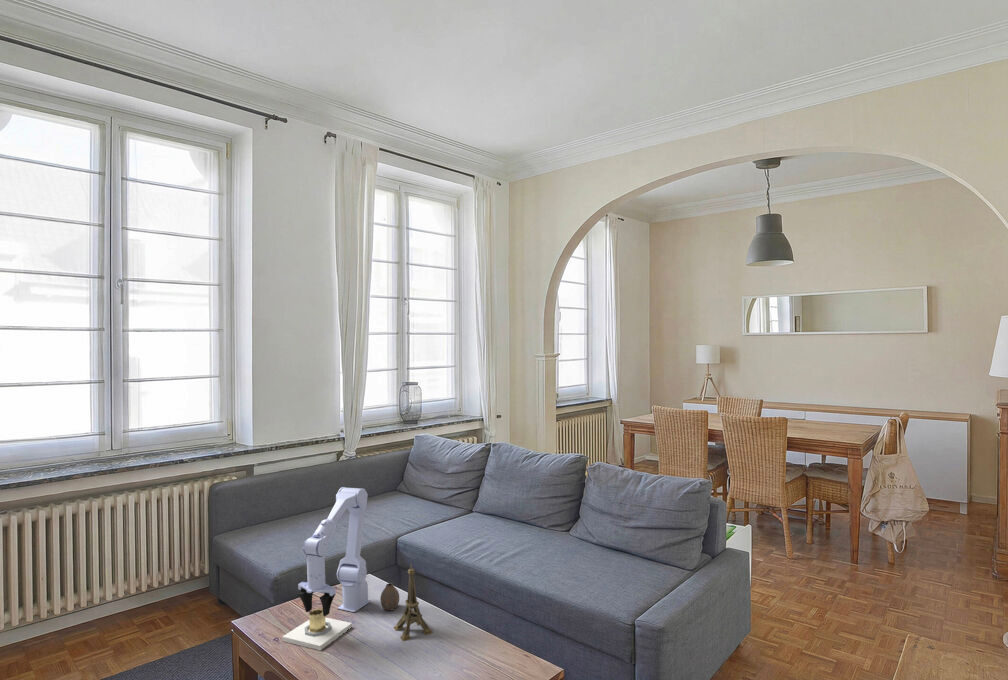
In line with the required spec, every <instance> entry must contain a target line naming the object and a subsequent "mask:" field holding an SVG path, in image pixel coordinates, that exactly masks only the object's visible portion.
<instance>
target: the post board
mask: <svg viewBox="0 0 1008 680" xmlns="http://www.w3.org/2000/svg"><path fill="white" fill-rule="evenodd" d="M325 626H326V629H325V630H324V631H321V632H316V633H312V632H310V620H309V619H308V620H306V621H304V622H303V623H302V624H300V625H298V626H297V627H295V628H293V629H292V630H291V631H289V632H287V633H285V634H284V635H283V636H281V637H282V642H285V643H289V644H293V645H298V646H301V647H305V648H307V649H308V648H309V649H312V650H317V651H321V650H323V649H324V648H326V647H327V646H329V645H330V644H331V643H333V642H334V641H335V640H337V639H339V636H340V637H341V636H343V633H344V634H345V633H346V632H347V630H348V629H349V630H351V629H352V628H353V623H352V622H348V621H344V620H339V619H335V618H330V617H327V616H325ZM351 627H352V628H351ZM350 628H351V629H350ZM349 630H348V631H349ZM332 641H333V642H332Z"/></svg>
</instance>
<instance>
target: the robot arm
mask: <svg viewBox="0 0 1008 680" xmlns="http://www.w3.org/2000/svg"><path fill="white" fill-rule="evenodd" d="M367 504H368V491H366V489H365V488H362V487H361V488H357V487H345V486H342V487H340V488H339V489H338V491H337V493H336V494H335V503H334V505H333V506H332V508H331V511H330V513H329V515H328V516H327V518H326V519H323V520H321V522H320V523H319V525H318V526H317V528H316V529H315V531H314V532H313V534H312V536H311V537H309V538H307V539H305V540H304V542H303V547H302V553H303V554H304V559H305V560H306V575H307V576H306V577H307V578H306V579H307V581H306V582H305V581H301V582H300V583H298V584H297V589H298V590H299V592H298V593H297V595H298V596H299V598H300V600H301V601H302V604H303V607H304V609H305V613H308V612H311V611H312V610H313V594H314V593H319V594H323V595H321V596H319V600H320V602H321V607H322V608H321V609H323V616H325V617H327V616H328V615H329V614H330V610H331V605H332V603H333V600H334V598H335V596H336V587H332V586H331V585H329V584H327V583H326V568H325V567H326V565H325V564H326V562H325V554H326V553H327V551H328V548H329V544H330V539H331V538H332V536H333V535H334V533H335V531H336V530H337V526H336V525H337V522H338V521H339V520H340V519H341V517H342V516H343V515H344V513H345V512H346V510H347V511H348V512H349V520H348V529H347V531H348V532H347V533H348V534H347V539H346V541H347V542H346V550H345V551H346V552H345V556H344V557H343V558H341V559H340V560H339V564H338V568H337V571H336V578H337V580H338V581H339V583H340V585H341V588H342V592H341V593H342V604H341V605H339V606H338V607H337V609H338V610H341V611H347V612H352V613H356V612H357V611H359V610H361V608H364V606H366V605H367V604H369V603H370V602H371V600H370V599H369V585H368V582H367V580H366V578H367V574H368V570H367V561H366V560H365V559H364V558H363V557H362V556H361V551H362V550H361V549H362V538H363V528H364V519H365V511H366V510H367V507H368V506H367Z"/></svg>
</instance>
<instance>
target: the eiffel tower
mask: <svg viewBox="0 0 1008 680" xmlns="http://www.w3.org/2000/svg"><path fill="white" fill-rule="evenodd" d="M412 567H413V565H412V564H410V568H409V569H408V568H407V573H408V587H407V598H406V600H405V604H406V605H405V609H404V612H402V616H401V617H400V618H399V620H398V621H397V622H396V624H395V626H393V629H394V630H395V631H396V632H397V631H400V630H403V631H402V634H401V636H400V640H401V641H402V642H406V641H409V640H410V641H411V639H412V638H411V636H410V635H411V634H410V631H411V625H413V624H416V625H417V626H421V628H422V633H423V634H424V636H428V635H431V634H434V632H433V631H432V629H431V628H430V627H429V626H428V624H427V622H426V621H425V620H424V619H423V614H422V613H421V612H420V608H419V605H420V602H419V601H418V599H417V598H418V597H417V591H416V585H415V584H416V583H415V582H416V581H415V577H414V574H416V572H415V569H414V568H412ZM405 624H406V625H405ZM404 626H405V628H404Z"/></svg>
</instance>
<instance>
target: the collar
mask: <svg viewBox="0 0 1008 680" xmlns="http://www.w3.org/2000/svg"><path fill="white" fill-rule="evenodd" d="M308 615H309V616H308V617H309V618H308V620H310V632H312V633H316V632H321V631H324V630H325V629H326V626H325V617H326V616H323V608H315V609H312V610H310V611H309V614H308Z"/></svg>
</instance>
